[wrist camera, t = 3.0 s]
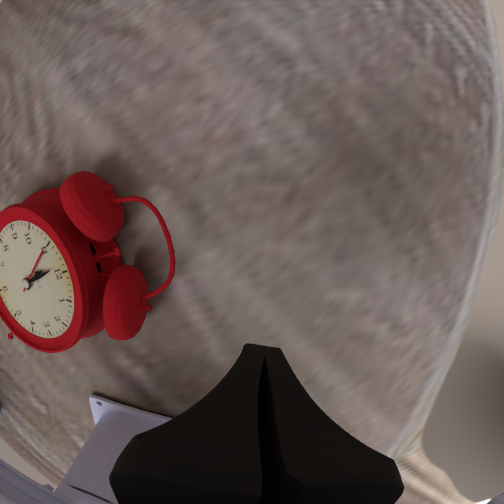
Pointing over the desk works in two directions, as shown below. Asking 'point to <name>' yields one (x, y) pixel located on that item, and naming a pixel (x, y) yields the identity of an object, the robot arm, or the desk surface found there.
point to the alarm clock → (71, 266)
